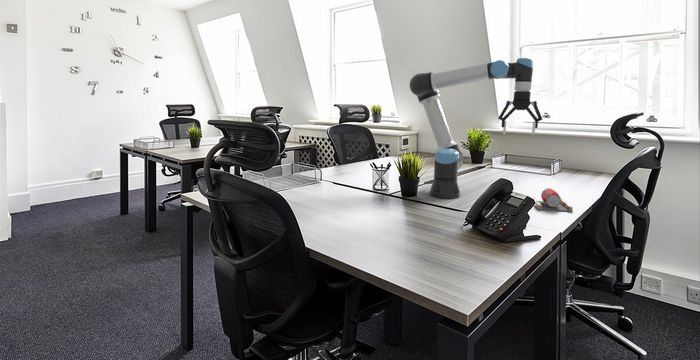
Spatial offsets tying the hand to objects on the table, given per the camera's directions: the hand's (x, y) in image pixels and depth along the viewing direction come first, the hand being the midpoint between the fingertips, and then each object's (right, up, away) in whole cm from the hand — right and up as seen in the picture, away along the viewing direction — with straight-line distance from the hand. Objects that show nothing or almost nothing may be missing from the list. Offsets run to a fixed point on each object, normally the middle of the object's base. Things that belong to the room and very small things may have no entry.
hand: (518, 134), depth 208 cm
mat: (+10, -35, -13) cm, 39 cm away
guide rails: (+10, -35, -13) cm, 39 cm away
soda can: (+11, -30, -8) cm, 33 cm away
